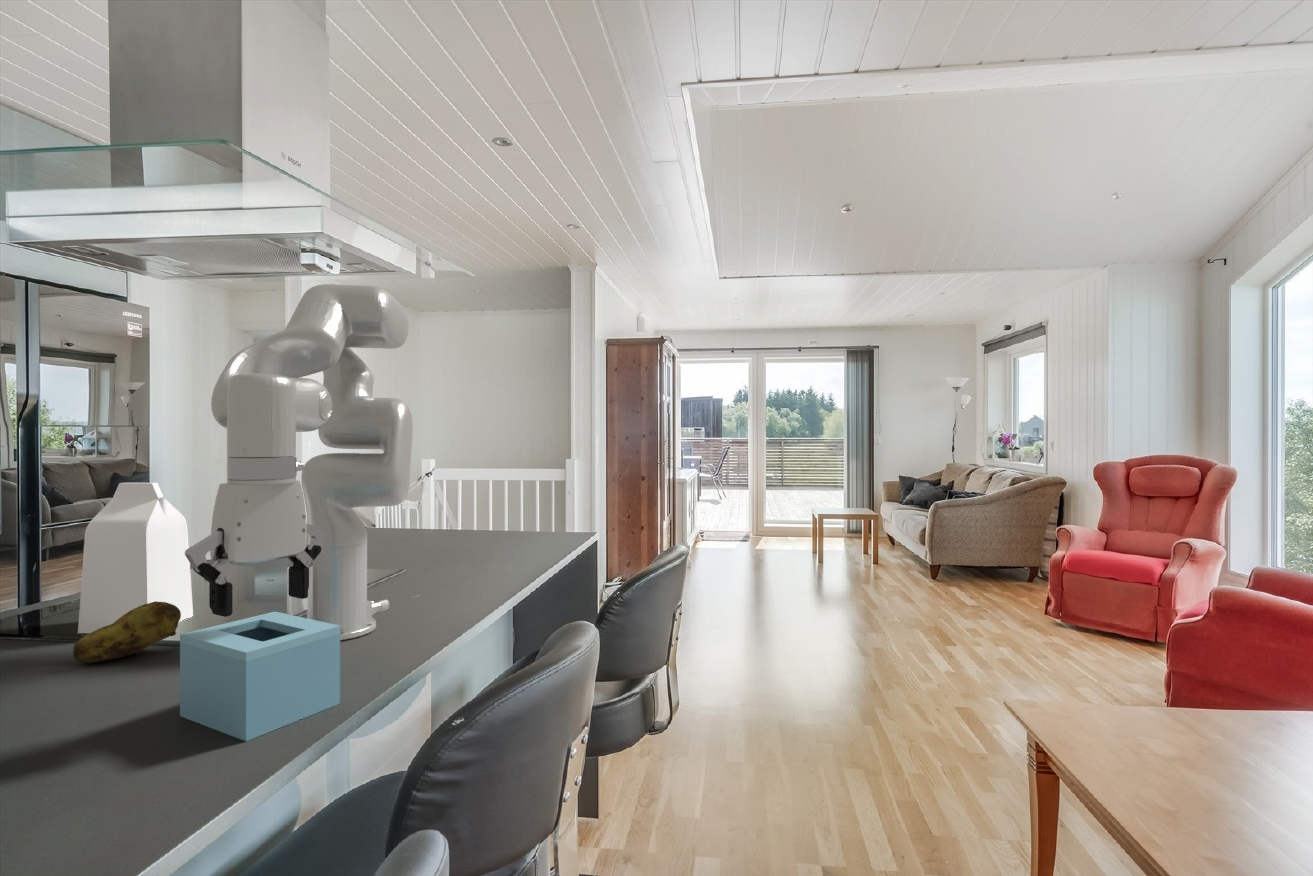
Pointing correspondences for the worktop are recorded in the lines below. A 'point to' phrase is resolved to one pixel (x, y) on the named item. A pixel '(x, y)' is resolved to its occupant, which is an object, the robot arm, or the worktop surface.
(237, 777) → the worktop surface
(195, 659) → the box
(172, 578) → the milk
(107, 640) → the potato
